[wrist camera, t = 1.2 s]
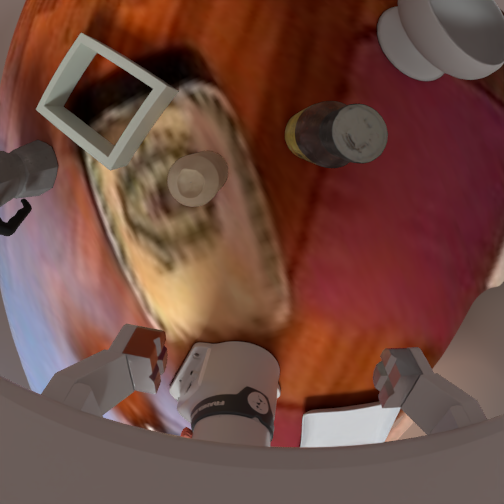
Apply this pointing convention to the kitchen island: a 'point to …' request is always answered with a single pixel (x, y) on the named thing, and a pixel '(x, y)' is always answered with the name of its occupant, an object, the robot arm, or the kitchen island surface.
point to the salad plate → (347, 425)
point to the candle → (197, 178)
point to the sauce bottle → (336, 134)
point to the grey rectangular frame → (80, 131)
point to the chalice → (443, 38)
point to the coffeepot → (25, 178)
